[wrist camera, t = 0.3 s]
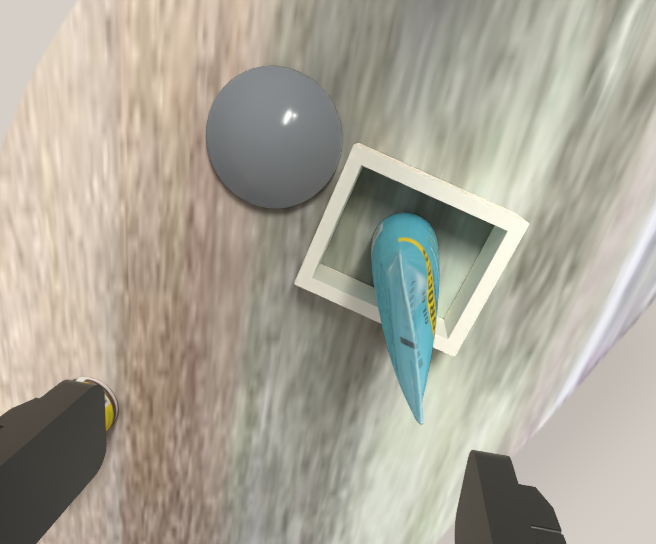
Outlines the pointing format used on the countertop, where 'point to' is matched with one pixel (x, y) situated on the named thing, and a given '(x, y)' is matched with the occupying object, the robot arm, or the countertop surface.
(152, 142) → the countertop surface
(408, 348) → the tube
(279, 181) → the grey round disc
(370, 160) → the white open box
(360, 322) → the countertop surface
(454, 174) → the countertop surface
